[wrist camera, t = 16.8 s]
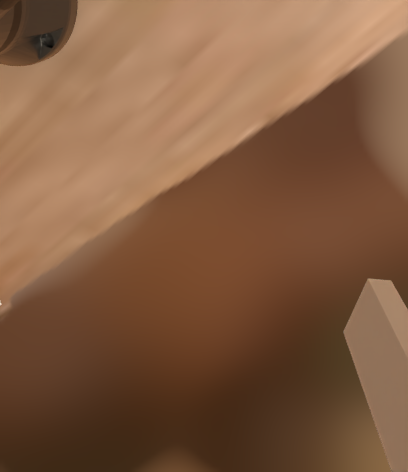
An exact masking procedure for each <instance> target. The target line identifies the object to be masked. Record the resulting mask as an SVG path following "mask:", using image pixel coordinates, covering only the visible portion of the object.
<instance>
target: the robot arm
mask: <svg viewBox="0 0 408 472" xmlns="http://www.w3.org/2000/svg"><path fill="white" fill-rule="evenodd" d="M76 15H77V0H0V64H4V65H10V66H26V65H32V64H35V63H38V62H41V61H44V60H46V59H48V58H50V57H52V56H54V55H55V54H56V53H57V52H59V51H60V50H61V49H62V48H63V46H64V45H65V44H66V42H67V41H68V39H69V37H70V35H71V33H72V31H73V28H74V25H75V21H76ZM0 305H1V302H0ZM344 335H345V338H346V341H347V344H348V347H349V350H350V353H351V355H352V358H353V361H354V364H355V367H356V370H357V373H358V376H359V379H360V381H361V385H362V387H363V390H364V393H365V396H366V399H367V402H368V405H369V408H370V411H371V413H372V416H373V419H374V422H375V425H376V428H377V431H378V434H379V437H380V439H381V443H382V445H383V448H384V451H385V454H386V457H387V460H388V463H389V466H390V469H391V471H392V472H408V310H407V308H406V306H405V304H404V303H403V301H402V299H401V297H400V296H399V294H398V292H397V291H396V289H395V287H394V285H393V283H392V282H391V281H390V280H378V279H368V280H367V282H366V284H365V286H364V288H363V291H362V293H361V295H360V297H359V299H358V301H357V304H356V306H355V308H354V310H353V312H352V315H351V317H350V319H349V321H348V323H347V325H346V328H345V330H344Z"/></svg>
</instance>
